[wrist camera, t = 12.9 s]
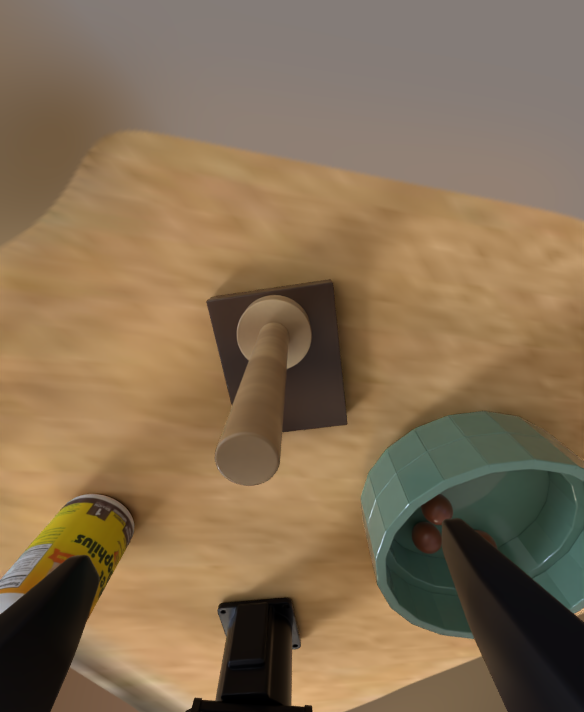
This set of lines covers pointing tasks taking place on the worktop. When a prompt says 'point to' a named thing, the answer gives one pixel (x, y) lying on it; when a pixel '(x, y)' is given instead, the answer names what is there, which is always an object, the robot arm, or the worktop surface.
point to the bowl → (475, 511)
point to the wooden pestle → (262, 388)
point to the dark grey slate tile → (308, 377)
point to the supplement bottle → (72, 545)
